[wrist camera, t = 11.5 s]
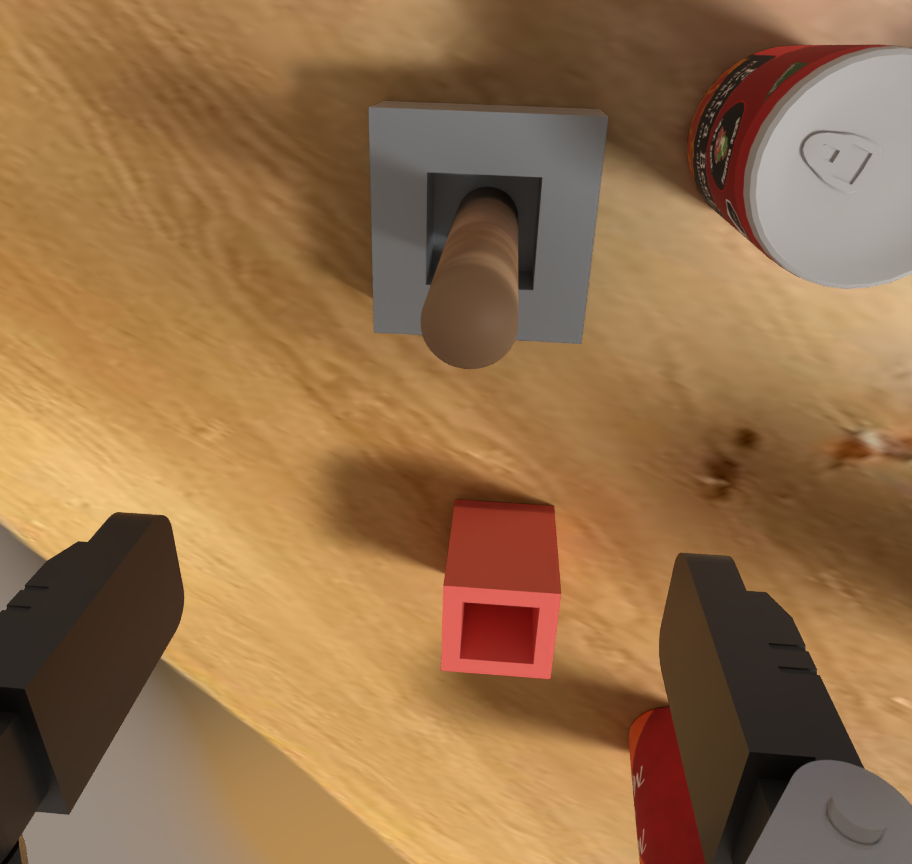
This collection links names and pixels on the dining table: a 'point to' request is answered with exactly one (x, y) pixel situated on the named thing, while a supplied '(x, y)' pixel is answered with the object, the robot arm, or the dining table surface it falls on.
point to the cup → (501, 590)
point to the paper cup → (661, 793)
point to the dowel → (475, 284)
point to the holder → (485, 165)
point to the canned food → (813, 159)
